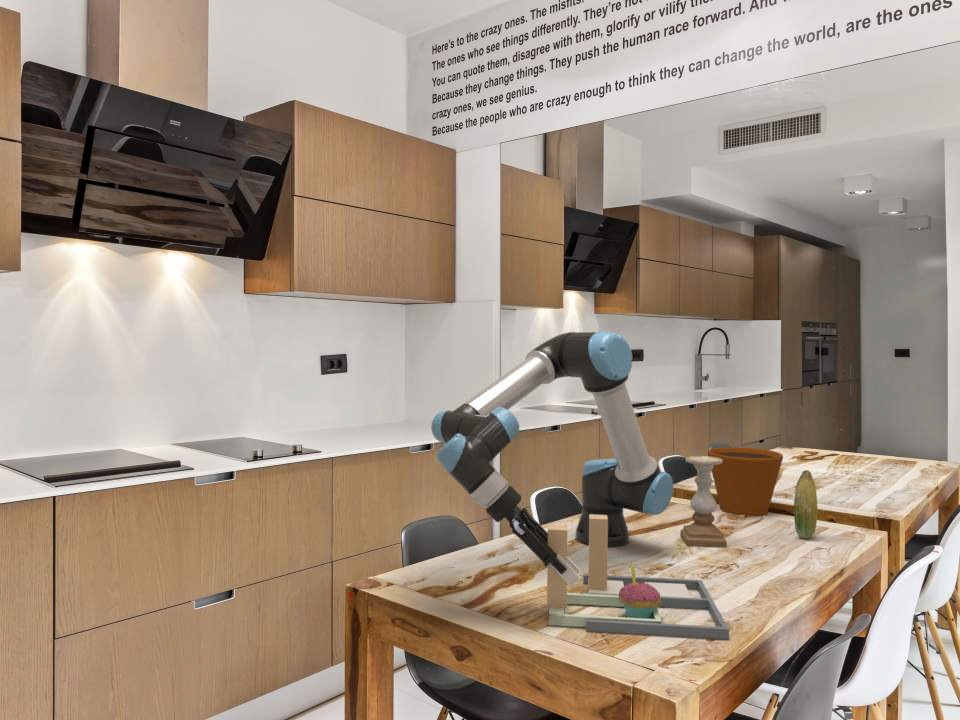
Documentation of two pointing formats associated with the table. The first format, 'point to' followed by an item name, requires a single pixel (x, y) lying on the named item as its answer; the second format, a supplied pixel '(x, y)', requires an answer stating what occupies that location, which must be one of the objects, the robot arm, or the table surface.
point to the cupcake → (639, 598)
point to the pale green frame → (561, 598)
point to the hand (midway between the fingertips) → (575, 578)
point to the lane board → (668, 602)
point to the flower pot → (745, 479)
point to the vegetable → (805, 506)
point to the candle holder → (703, 507)
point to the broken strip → (599, 564)
